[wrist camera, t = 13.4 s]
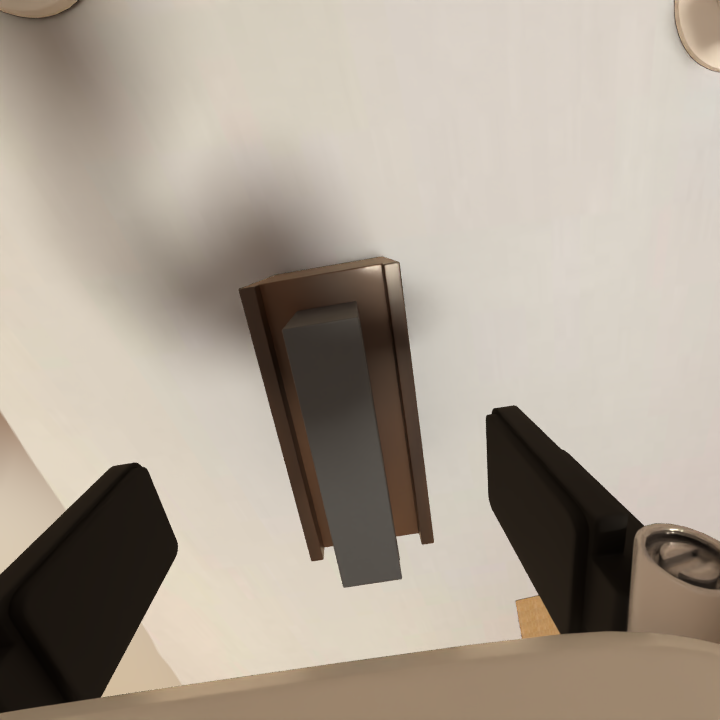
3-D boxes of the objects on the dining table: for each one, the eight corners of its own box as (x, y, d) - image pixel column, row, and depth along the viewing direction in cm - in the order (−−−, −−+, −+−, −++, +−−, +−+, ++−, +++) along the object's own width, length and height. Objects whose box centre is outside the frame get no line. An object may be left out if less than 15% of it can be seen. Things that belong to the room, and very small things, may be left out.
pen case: (343, 526, 29) (342, 588, 24) (296, 310, 23) (280, 329, 18) (393, 518, 29) (403, 579, 24) (357, 300, 23) (359, 316, 18)
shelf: (321, 475, 39) (311, 561, 28) (275, 274, 32) (238, 289, 22) (411, 461, 39) (434, 543, 28) (382, 256, 32) (399, 261, 21)
